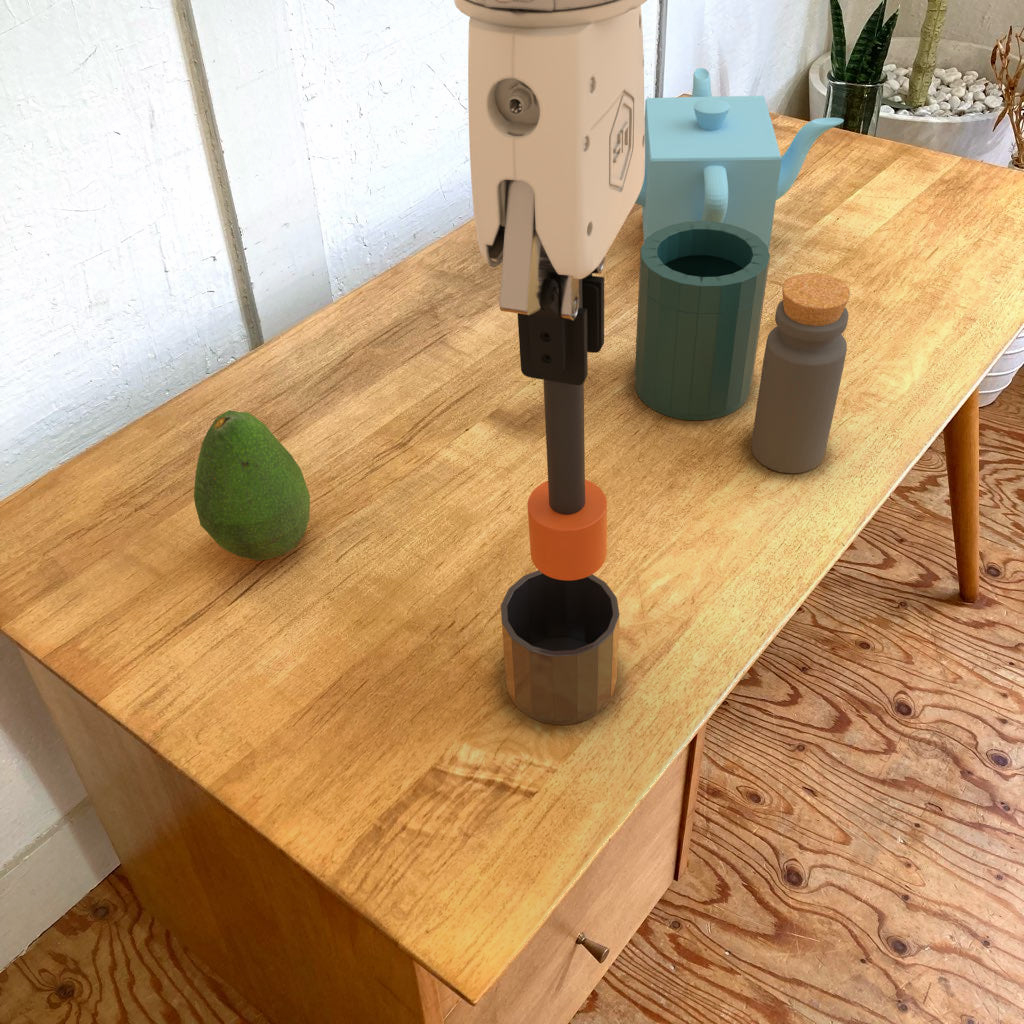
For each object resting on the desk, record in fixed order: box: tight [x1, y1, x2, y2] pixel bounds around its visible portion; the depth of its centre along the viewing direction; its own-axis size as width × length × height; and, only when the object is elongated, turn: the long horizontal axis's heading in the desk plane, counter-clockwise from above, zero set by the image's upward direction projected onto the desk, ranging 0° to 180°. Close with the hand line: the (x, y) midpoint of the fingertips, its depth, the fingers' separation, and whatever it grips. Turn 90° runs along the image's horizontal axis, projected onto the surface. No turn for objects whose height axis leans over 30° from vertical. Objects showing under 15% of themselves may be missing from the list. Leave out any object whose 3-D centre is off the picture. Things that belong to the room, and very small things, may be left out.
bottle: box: [750, 272, 851, 474], centre depth 80 cm, size 6×6×15 cm
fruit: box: [193, 409, 311, 562], centre depth 75 cm, size 8×8×12 cm
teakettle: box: [635, 67, 845, 251], centre depth 104 cm, size 19×19×15 cm
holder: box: [500, 569, 620, 726], centre depth 67 cm, size 7×7×7 cm
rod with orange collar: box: [527, 269, 608, 581], centre depth 54 cm, size 4×4×19 cm
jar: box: [634, 221, 771, 421], centre depth 87 cm, size 10×10×13 cm
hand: (563, 359), depth 51 cm, fingers closed on rod with orange collar, 2 cm apart
